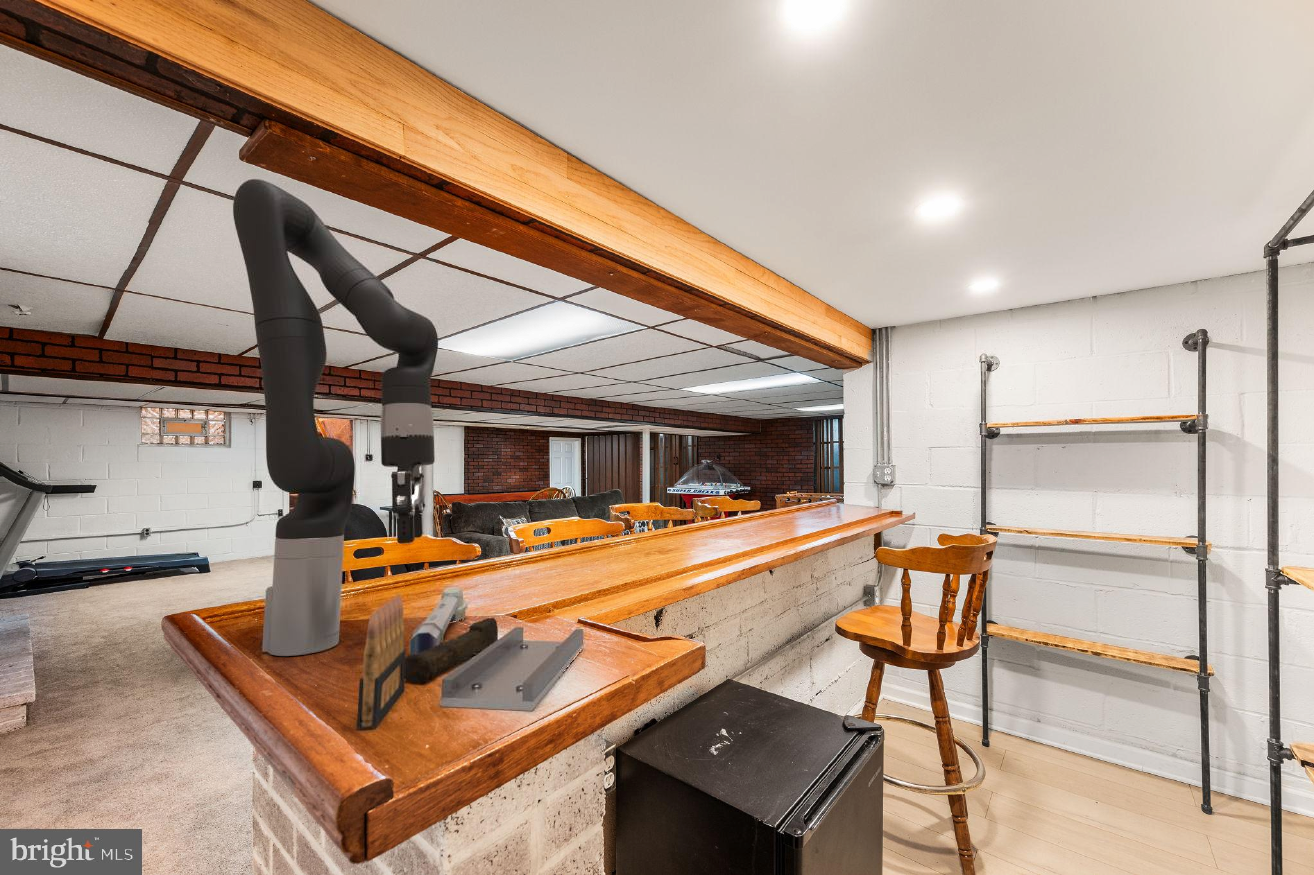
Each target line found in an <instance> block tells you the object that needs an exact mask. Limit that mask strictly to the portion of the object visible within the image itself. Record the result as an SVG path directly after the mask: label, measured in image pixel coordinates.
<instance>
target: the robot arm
mask: <svg viewBox="0 0 1314 875" xmlns="http://www.w3.org/2000/svg"><path fill="white" fill-rule="evenodd" d="M233 197H234V198H233V204H232V207H233V208H232V212H233V213H232V214H233V215H232V216H233V222H234V227H235V230H236V234H237V238H238V241H239V246H240V248H241V249H240V250H241V252H242V256H243V259H244V265H245V268H246V272H247V273H246V274H247V279H248V285H249V290H250V296H251V302H252V303H251V304H252V308H253V318H254V319H253V320H254V329H255V337H256V338H255V339H256V345H257V349H258V350H257V352H258V355H259V360H260V361H259V362H260V367H261V368H260V369H261V377H262V385H263V386H262V387H263V388H262V389H263V395H264V405H265V454H266V457H265V458H266V466H267V471H268V474H269V477H270V479H271V482H273V484H274V485H275V486H276V488H278V489H280V490H281V491H284V492H286V493H291V494H297V496H296V502H295V505H294V506H293V508H292V509H291V510H290V511H289V512H288V513H287V514H285V515H283V516H282V517H280V518H279V519H278V520H277V522H276V525H275V536H274V537H275V539H274V540H275V541H274V554H273V557H274V558H273V569H272V570H273V571H272V584H271V586H269V587H267V588H266V590H265V601H264V612H263V613H264V615H263V632H262V646H261V648H262V650H261V652H262V653H263V652H264V653H268V654H269V655H273V656H279V657H289V656H301V655H308V654H314V653H319V652H323V651H326V650H329V649H331V648H333V647H335V646H337V645H339V642H340V639H339V638H340V625H341V624H340V623H341V622H340V621H341V605H342V604H341V603H342V584H343V582H342V581H343V562H344V561H343V560H344V543H345V542H344V540H345V527H346V524H347V522H348V520H349V518H350V515H351V511H352V506H353V505H352V504H353V495H354V486H355V475H356V474H355V472H356V471H355V470H356V466H355V465H356V464H355V457H354V454H353V451H352V450H351V447H350V446H349V445H347V444H346V443H345V442H344V441H342V440H340V439H337V438H334V437H329V436H323V435H319V431H318V427H317V422H316V417H315V407H314V406H315V405H314V404H315V403H314V400H315V398H314V397H315V394H316V390H317V387H318V386H319V383H320V379H321V378H322V375H323V372H324V369H325V367H326V363H327V362H326V361H327V357H328V356H327V353H328V352H327V345H326V339H325V338H326V337H325V331H324V326H323V325H324V324H323V321H322V317H321V314H320V312H319V310H318V308H317V306H316V304H315V303H314V301H313V299H312V297H311V295H310V294H309V292H308V291H307V289H306V287H305V286H304V284H303V283H302V281H301V280H300V278H299V276H298V274H297V273H296V272H295V270H294V268H293V265H292V262H291V260H290V258H289V253H290V254H292V255H294V256H296V257H297V258H298V259H300V260H302V261H303V262H305V263H307V264H308V265H309V266H311V267H312V268H313V269H314V270H316V272H317V273H318V276H319V277H320V280H321V282H322V285H323V286H324V287H325V289H326V291H328V293H329V294H330V295H331V296H332V297H333V298H334V299H335V300H336V301H337V302H338V303H339V304H340V305H341V306H343V307H344V308H345V309H346V310H347V311H348V312H349V313H350V314H351V315H353V316H354V317H355V319H356V321H357V322H358V324H359V325H360V327H361V329H363V331H364V333H365V334H366V336H368V337H369V338H370V339H371V340H372V341H373V342H374V343H375V344H377V345H378V346H380V347H382V348H384V349H386V350H388V351H391V352H394V353H397V354H398V358H397V362H396V365H395V367H389V368H388V369H387V368H386V370H384V371H383V373H382V375H381V387H380V389H381V393H380V394H381V415H380V422H379V423H380V463H381V465H382V466H383V467H385V468H386V467H388V468H397V470H396V471H391V474H390V478H391V496H392V497H391V503H392V504H391V505H392V506H391V512H392V514H393V515H394V517H395V518H396V537H397V538H396V541H397V543H398V544H402V545H403V544H410V543H413V542H414V541H415V539H416V538H417V539H418V538H421V537H423V533H424V532H423V514H424V511H425V508H426V503H425V498H426V495H425V484H426V483H425V475H424V473H423V472H420V467H422V466H431V465H433V464H434V463H435V462H436V461H435V460H436V459H435V432H434V431H435V430H434V428H435V427H434V416H433V411H432V394H431V392H432V391H431V390H432V388H431V379H432V376H433V372H434V368H435V363H436V359H437V355H438V354H437V353H438V350H439V349H438V348H439V338H438V333H437V329H436V327H435V324H433V322H432V321H431V319H429V318H428V317H426V316H424V315H422V314H420V313H418V312H415V311H414V310H411V309H409V308H407V307H405V306H404V305H402V304H401V303H399V302H398V301H397V300H396V299H395V296H394V294H393V292H392V291H391V289H390V288H389V287H388V286H387V285H386V284H385V283H384V282H383V281H382V280H381V279H380V278H378V277H377V275H375V274H374V273H373V272H371V270H369V269H368V268H367V267H366V266H365V265H363V264H362V262H360V261H359V260H358V259H357V258H355V257H354V256H353V255H352V254H351V253H350V252H349V251H348V250H346V248H345V247H343V245H342V244H341V243H340V242H339V241H338V240H337V238H336V237H335V236H334V235H333V233H331V231H330V230H329V228H328V227H327V225H326V224H325V222H324V221H322V219H321V218H320V217H319V215H318V214H317V213H316V212H315V210H313V208H312V207H311V206H310V205H309V204H307V203H306V202H304V201H303V200H301V199H300V198H298V197H297V196H295V195H293V194H291V193H290V192H288V191H286V190H285V189H282V188H280V187H279V186H277V185H276V184H274V183H272V182H269V181H266V180H263V179H260V178H258V179H257V178H252V179H251V178H250V179H248V180H246V181H244V182H243V183H241V184H240V185H239V187H238V188H237V190H236V192H235V194H234V196H233Z"/></svg>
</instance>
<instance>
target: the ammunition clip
mask: <svg viewBox="0 0 1314 875" xmlns="http://www.w3.org/2000/svg"><path fill="white" fill-rule="evenodd" d="M403 607H404V606H403V600H402V596H401V594H400V593H397V595H396V596H393V597H392V599H388V601H387V603H386V602H384V603H383V604H382V606H378V608H377V610H372V612H371V614H370V617H369V620H368V624H367V631H366V638H365V647H364V651H363V665H362V676H361V677H360V679H359V684H358V685H359V686H358V702H357V703H358V704H357V714H356V715H357V719H356V731H363V730H364V731H365V730H376V729H377V728H378V727H379V726H380V723H381V722H382V721H383V720H384V719H385V717H386V716H387V715H388V713H389V712H390V710H392V708H393V707H394V705H395V704H396V703H397V702H398V700H399V699H400V698H401V696H402V695H403V694H404V692H405V683H406V680H405V658H406V654H407V653H406V649H405V647H404V646H405V643H404V642H405V627H404V626H405V625H404V608H403Z"/></svg>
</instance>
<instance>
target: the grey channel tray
mask: <svg viewBox="0 0 1314 875" xmlns="http://www.w3.org/2000/svg"><path fill="white" fill-rule="evenodd" d="M584 643H585V642H584V629H583V628H575V629H574V631H573V632H571V634H569V635H568V637H566V639H565V640H563V641H558V640H557V641H556V640H555V641H552V640H549V641H548V640H526V639H524V626H521V627H520V626H516V627H514V628H513V629H511V630H510V631H508V632H507V633H505V634H504V635H503V636H501V637H500V638H498V640H497V641H496V642H494V643H493V644H491V645H490V646H489V647H487V648H486V649H484V650H483V651H481V652H480V653H479V654H475V656H473V657H472V658H470V659H469V660H467V661H466V662H464V663H463V664H461V666H458V667H457V668H456V669H455V670H453V671H451V673H449V674H448V675H446V676H445V677H443V678H442V679H441V691H440V692H441V695H440V696H441V697H440V707H444V708H445V707H448V708H465V709H466V708H468V709H485V710H487V709H488V710H507V711H526V712H533V711H534V710H535V709H536V708H537V706H539V704H540V703H541V702H542V700H543V699H544V698H545V697H546V696H547V695H548V693H549V692H550V691H551V690H552V689H553V687H554V686H555V684H556V683H557V682H558V681H559V680H560V678H561V677H562V676H563V675H564V673H565V672H564V670H566V668H567V666H568V665H569V664H570V663H571V661H572V660H573V659H574V657H575V656H576V654H577V653H578V652H579V651H580V649H582V647H583V646H584ZM566 671H567V670H566ZM563 672H564V673H563ZM562 674H563V675H562ZM561 675H562V676H561ZM560 676H561V677H560ZM559 677H560V678H559ZM558 679H559V680H558ZM557 680H558V681H557Z"/></svg>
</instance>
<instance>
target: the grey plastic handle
mask: <svg viewBox="0 0 1314 875" xmlns="http://www.w3.org/2000/svg"><path fill="white" fill-rule="evenodd" d="M440 597H441V598H440V601H439V603H438V604H437V605H436V606H435V607H434V609H433V610H432V611H431V612H430V614H429V615H428V616H427V617H426V619H425V620H424V621H423V622H421V623H420V624H419V625H418V626H417V627H416V628H415V629H414V630H413V631H412V637H411V639H409V641H408V645H409V646H408V647H409V648H408V649H409V650H408V652H409V653H410V655H417V654H419V653H421V652H423V651H425V650H428V649H430V648H433V647H434V646H437V645H440V644H443V643H444V634H445V633H446V630H447V628H448V626H449V624H450V623H449V622H453V621H457V620H460V621H462V620H461V619H462V618H464V617H465V618H466V610H467V609H468V604H469V602H467V601H466V600H464V593H463V590H462V588H461V587H459V586H449V587H446V588H444V589H443V591H442V593H441V596H440Z"/></svg>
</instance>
